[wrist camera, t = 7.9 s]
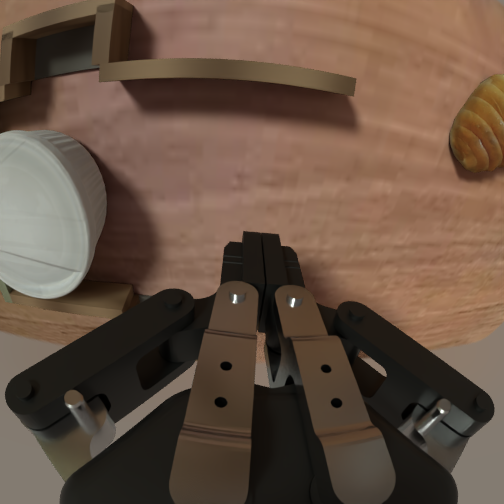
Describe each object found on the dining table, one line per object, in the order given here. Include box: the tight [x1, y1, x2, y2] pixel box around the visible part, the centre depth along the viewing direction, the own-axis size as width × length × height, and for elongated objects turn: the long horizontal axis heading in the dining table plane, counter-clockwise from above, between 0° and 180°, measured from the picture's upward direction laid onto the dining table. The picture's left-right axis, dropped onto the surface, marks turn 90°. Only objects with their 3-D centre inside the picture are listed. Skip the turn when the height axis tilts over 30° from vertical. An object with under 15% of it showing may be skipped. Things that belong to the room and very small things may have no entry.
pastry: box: [450, 74, 504, 173], centre depth 15 cm, size 9×7×4 cm
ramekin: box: [0, 130, 107, 299], centre depth 16 cm, size 11×11×5 cm
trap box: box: [0, 0, 356, 361], centre depth 17 cm, size 25×25×3 cm
